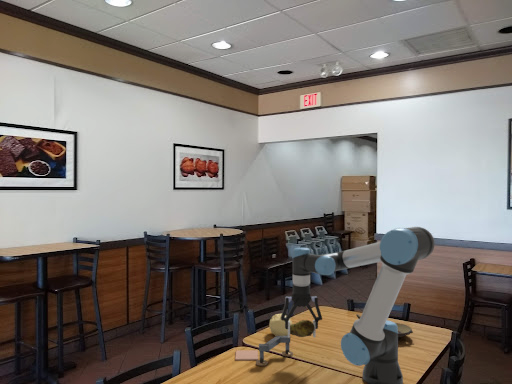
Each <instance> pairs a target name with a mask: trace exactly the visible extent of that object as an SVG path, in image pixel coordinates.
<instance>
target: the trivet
mask: <svg viewBox="0 0 512 384" xmlns="http://www.w3.org/2000/svg"><path fill="white" fill-rule="evenodd" d="M234 360H235V361H257V360H259V349H256V350H253V349H251V350H250V349H249V350H247V349H246V350H245V349H243V350H241V349H240V350H239V349H238V350H235V359H234Z"/></svg>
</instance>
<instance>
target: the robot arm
mask: <svg viewBox="0 0 512 384" xmlns="http://www.w3.org/2000/svg"><path fill="white" fill-rule="evenodd" d="M435 246H436V243H435V238H434V236H433V235H432V233H431V232H430V231H429V230H428V229H426V228H425V227H421V226H411V227H397V228H393V229H391V230H389V231H387V232H386V233H384V235H383V236H382V237H381V239H380V241H378V242H374V243H370V244H366V245H362V246H357V247H354V248H351V249H346V250H342V251H337V252H332V253H331V252H330V253H325V254H324V253H323V254H314V253H313V254H312V253H311V249H310V248H308V247H295V248H294V249H293V250H292V257H291V262H292V294H291V296H285V297H284V299H285V300H284V301H285V302H284V306H283V309H282V312H281V313H282V315H281V320H283V321H285V328H286V329H288V335H287V336H288V338H290V339H291V334H290V321H289V319H291V317H292V315H293V314H294V312H295V310H296V309H297V308H300V307H303V308H304V307H307V309H308V311H309V313H310V314H311V316H312V317H313V320H312V323H313V325H314V327H315V330H314V332H313V333H312V336H313V338H316V336H317V334H316V330H318V329H319V321H322V320H323V315H322V313H321V309H320V306H319V303H318V301H319V298H318V296H316V295H315V296H312V295H311V273H314V274H316V275H321V276H331V275H332V274H333V273H334V272H337V271H341V270H342V271H343V270H347V269H352V268H357V267H360V266H361V267H362V266H366V265H371V264H375V263H377V264H378V263H381V264H382V265H381V267H380V269H379V272H378V274H377V276H376V279H375V280H374V281H375V282H374V284H373V286H372V289H371V292H370V294H369V296H368V298H367V301H366V303H365V306H364V307H363V310H362V314H361V315H360V316H361V318H360V319H358V318H357V319H356V320H354V322H353V324H352V327H351V329H350V331H349V332H347V333H345V334H344V335H343V336H342V337H341V340H340V348H341V351H342V353H343V356H344V358H345V360H347V361H348V362H349V363H350V364H352V365H355V366H359V367H360V366H363V365H364V366H363V369H362V380H363V381H364V382H365V383H366V384H403V383H404V377H403V373H402V369H401V366H400V364H399V337H398V326H397V325H396V323H397V322H394V321H391V320H388V319H389V316H390V313H391V312H392V309H393V307H394V305H395V302H396V300H397V298H398V296H399V294H400V290H401V289H402V286H403V284H404V282H405V279H406V278H407V277H406V276H407V275H411V274H413V273H414V270H415V269H416V266H417V264H418V262H419V261H420V260H424V259H426V258H428V257H429V256H431V254H432V253H433V252H434V250H435ZM311 300H312V303H314V307H315V311H316V313H317V316H316V314H315V312H314V310H313V309H312V307H311V305H310V302H311ZM291 301H293V303H292V306H291V307H290V310H289V311H288V308H289V303H290V302H291ZM287 311H288V312H287ZM285 315H286V317H285Z"/></svg>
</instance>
